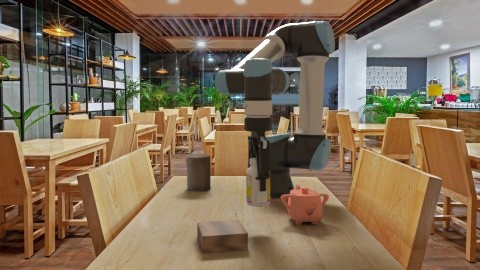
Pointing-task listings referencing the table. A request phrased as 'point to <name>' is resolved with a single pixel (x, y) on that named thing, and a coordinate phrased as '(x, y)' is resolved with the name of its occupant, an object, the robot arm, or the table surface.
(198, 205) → the table surface
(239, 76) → the robot arm
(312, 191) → the teapot
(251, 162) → the supplement bottle
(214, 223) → the block
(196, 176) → the pillar candle
